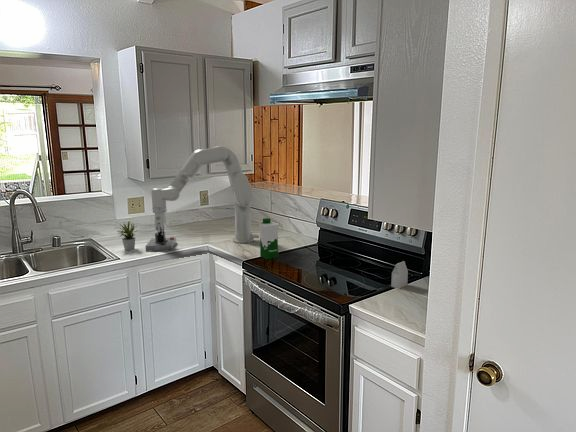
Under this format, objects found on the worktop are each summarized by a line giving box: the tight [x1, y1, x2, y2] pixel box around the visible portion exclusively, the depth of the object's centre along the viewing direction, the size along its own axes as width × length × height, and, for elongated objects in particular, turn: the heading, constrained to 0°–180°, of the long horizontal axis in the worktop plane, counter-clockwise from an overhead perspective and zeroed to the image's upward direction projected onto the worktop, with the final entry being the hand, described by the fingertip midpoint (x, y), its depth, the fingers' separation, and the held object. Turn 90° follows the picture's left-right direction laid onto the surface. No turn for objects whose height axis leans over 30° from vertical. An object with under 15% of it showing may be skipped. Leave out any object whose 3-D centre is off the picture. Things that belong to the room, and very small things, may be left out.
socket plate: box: [145, 236, 177, 252], centre depth 247 cm, size 14×18×4 cm
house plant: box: [115, 220, 137, 251], centre depth 242 cm, size 14×14×16 cm
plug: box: [154, 231, 167, 243], centre depth 246 cm, size 5×4×8 cm
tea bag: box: [390, 260, 409, 289], centre depth 180 cm, size 4×7×10 cm, turn 136°
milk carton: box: [258, 217, 280, 260], centre depth 223 cm, size 9×9×20 cm
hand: (161, 240), depth 247 cm, fingers closed on plug, 3 cm apart
